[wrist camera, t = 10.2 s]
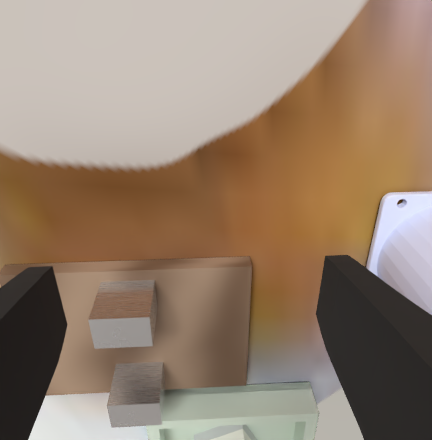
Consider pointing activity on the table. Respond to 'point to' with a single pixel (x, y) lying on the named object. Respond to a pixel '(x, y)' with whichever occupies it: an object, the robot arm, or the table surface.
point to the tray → (240, 411)
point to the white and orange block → (226, 433)
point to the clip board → (178, 327)
